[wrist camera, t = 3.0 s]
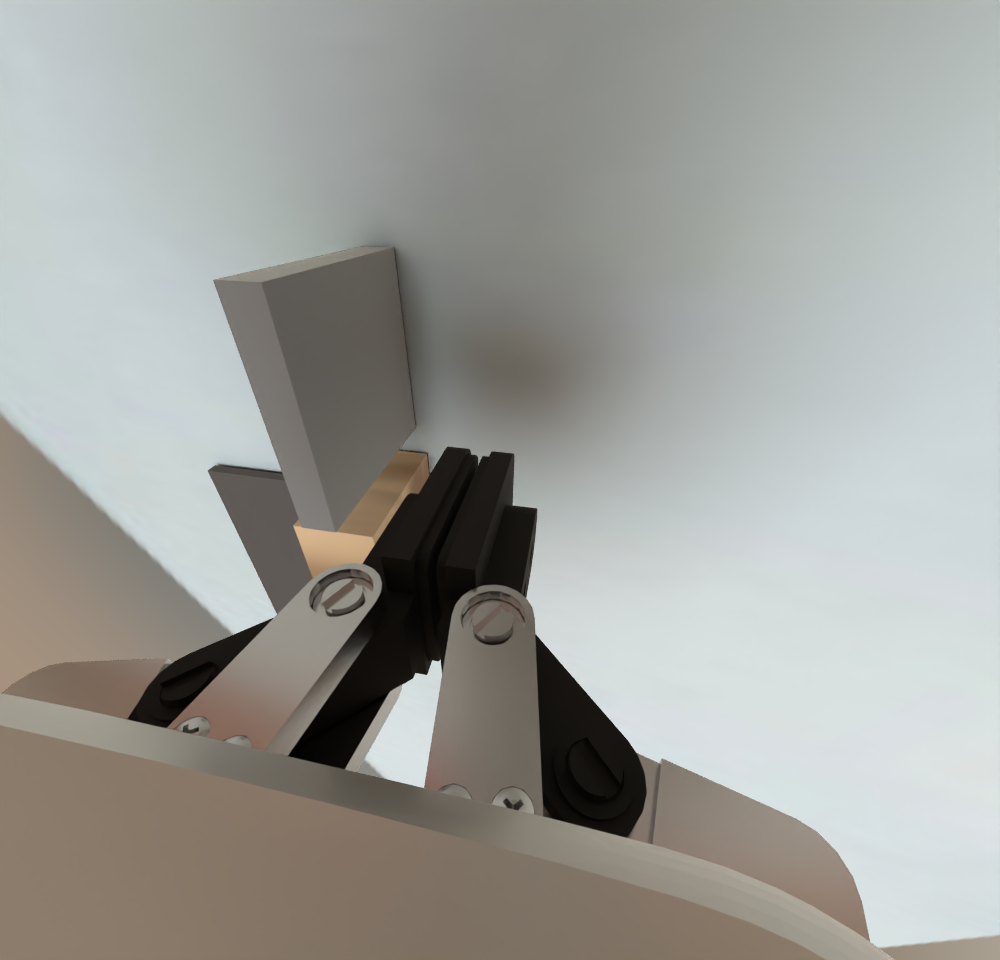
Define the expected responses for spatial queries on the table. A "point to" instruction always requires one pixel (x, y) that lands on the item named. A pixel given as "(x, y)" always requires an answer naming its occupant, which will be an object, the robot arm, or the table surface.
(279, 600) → the mat
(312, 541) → the tan stepped block piece
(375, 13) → the table surface
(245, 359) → the tile
